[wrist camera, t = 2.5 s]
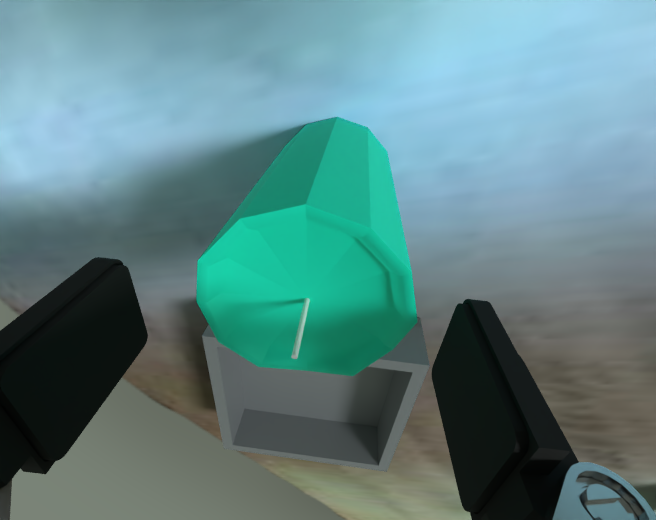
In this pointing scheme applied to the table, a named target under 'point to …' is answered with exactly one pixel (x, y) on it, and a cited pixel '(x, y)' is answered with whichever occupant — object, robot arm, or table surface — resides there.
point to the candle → (313, 258)
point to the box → (317, 405)
